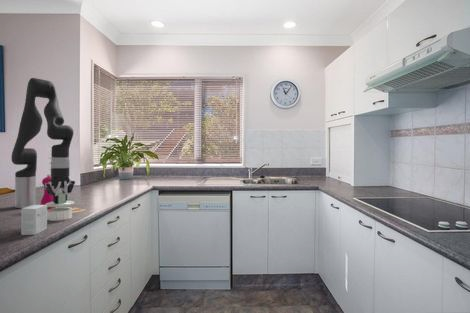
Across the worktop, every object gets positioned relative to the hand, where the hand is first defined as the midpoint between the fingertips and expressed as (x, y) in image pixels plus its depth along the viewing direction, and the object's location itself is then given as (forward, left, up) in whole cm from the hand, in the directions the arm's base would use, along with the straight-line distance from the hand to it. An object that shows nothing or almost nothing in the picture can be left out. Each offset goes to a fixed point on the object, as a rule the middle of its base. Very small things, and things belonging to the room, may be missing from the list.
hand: (60, 202), depth 131 cm
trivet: (-10, +11, -8) cm, 17 cm away
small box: (+10, -16, -9) cm, 21 cm away
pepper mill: (-22, +7, -8) cm, 25 cm away
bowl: (0, 0, -8) cm, 8 cm away
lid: (0, 0, -1) cm, 1 cm away
